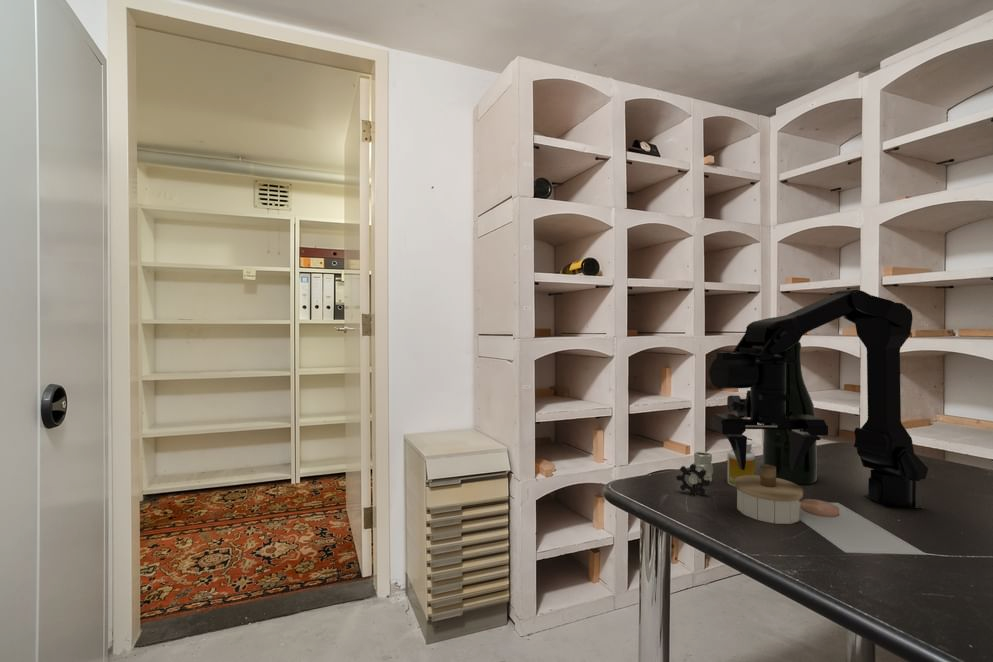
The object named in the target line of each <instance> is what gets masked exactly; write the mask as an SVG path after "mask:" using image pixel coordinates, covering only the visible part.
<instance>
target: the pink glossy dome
mask: <svg viewBox="0 0 993 662" xmlns="http://www.w3.org/2000/svg"><path fill="white" fill-rule="evenodd" d="M831 503H832V502H828V501H825V500H821V499H820V500H819V499H815V498H813V499H812V498H805V499H800V507H801V509H802V510H804V511H805V512H807V513H810V514H813V515H817V516H822V517H837V516H839V508H838V507H837V506H836V505H834V504H831Z"/></svg>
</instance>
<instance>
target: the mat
mask: <svg viewBox="0 0 993 662" xmlns="http://www.w3.org/2000/svg"><path fill="white" fill-rule="evenodd" d="M800 502H801V501H800ZM800 502H799V521H801V522H802V523H803V524H804V525H806V526H808V527H809V528H811V529H812V530H814V532H816V533H817V534H819V535H820V536H822V537H823V538H824V539H826V540H827V541H828V542H830V543H831V544H833V545H834V546H835V547H837V548H838V549H840V550H841V551H842V552H844V553H846V554H871V555H873V554H874V555H876V554H879V555H912V556H913V555H918V556H919V555H920V556H928V554H927V553H926V552H924V551H922V550H920V549H919V548H917V547H916V546H913V545H911V544H910V543H908V542H907V541H905V540H903V539H901V538H899V537H898V536H896V535H894V534H893V533H891V532H890V531H888V530H886V529H884V528H882V527H881V526H879V525H877V524H876V523H874V522H872V521H870V520H869V519H867V518H866V517H864V516H862V515H861V514H859V513H857V512H854V511H853V510H851V509H850V508H848V507H846V506H844V505H843V504H842V503H839V502H830V503H831V504H834V505H836V506H837V507H838V508H839V516H837V517H822V516H817V515H813V514H810V513H807V512H805V511H804V510H802V509H801V507H800Z"/></svg>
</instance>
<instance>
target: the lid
mask: <svg viewBox="0 0 993 662" xmlns="http://www.w3.org/2000/svg"><path fill="white" fill-rule="evenodd" d="M734 487H735V489H736V490H737V489H738V490H739V491H741V492H743V493H745V494H747V495H750V496H753V497H757V498H761V499H766V500H772V501H783V502H789V501H797V500H800V501H801V500H803V497H804V489H803V488H802V487H801V485H797V484H795V483H793V482H790V481H787V480H784V479H780V478H776V467H775V466H773V465H768V464H763V463H762V464H759V474H755V475H744V476H740V477H737V478H736V479H735V486H734Z"/></svg>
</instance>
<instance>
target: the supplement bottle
mask: <svg viewBox="0 0 993 662" xmlns="http://www.w3.org/2000/svg"><path fill="white" fill-rule="evenodd" d="M730 447H731V449H729V450H728V452H727V473H726V474H727V484H728V485H730V486H732V487H735V479H736V478H737V477H740V476H744V475H756V455H755V454H754V452H752V442H750V441H748V440H747V448H746V465H745V470H741V469H740V467H739V465H738V462H737V459H736V456H735V454H734V451H733V448H732V446H731V445H730Z"/></svg>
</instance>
